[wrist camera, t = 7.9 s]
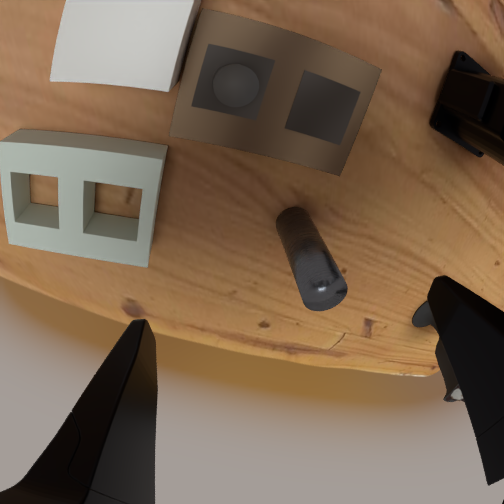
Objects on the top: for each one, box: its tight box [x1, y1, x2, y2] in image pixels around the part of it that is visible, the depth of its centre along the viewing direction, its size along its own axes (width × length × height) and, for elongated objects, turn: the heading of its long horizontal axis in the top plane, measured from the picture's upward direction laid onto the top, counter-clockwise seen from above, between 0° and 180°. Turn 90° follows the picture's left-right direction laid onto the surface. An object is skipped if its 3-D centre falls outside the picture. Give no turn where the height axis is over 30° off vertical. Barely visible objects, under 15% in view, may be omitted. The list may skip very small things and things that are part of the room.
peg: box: [276, 207, 348, 311], centre depth 18 cm, size 2×2×7 cm
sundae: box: [412, 301, 464, 402], centre depth 25 cm, size 7×7×15 cm
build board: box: [0, 129, 168, 268], centre depth 16 cm, size 10×7×2 cm
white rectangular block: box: [50, 0, 202, 92], centre depth 11 cm, size 6×6×4 cm
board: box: [169, 8, 382, 176], centre depth 14 cm, size 10×7×4 cm
